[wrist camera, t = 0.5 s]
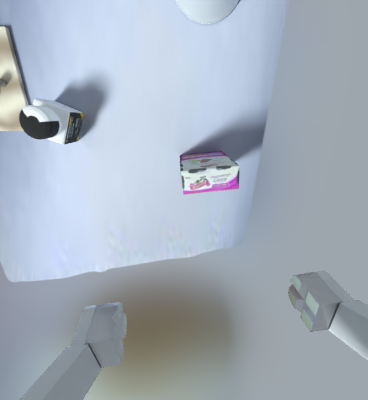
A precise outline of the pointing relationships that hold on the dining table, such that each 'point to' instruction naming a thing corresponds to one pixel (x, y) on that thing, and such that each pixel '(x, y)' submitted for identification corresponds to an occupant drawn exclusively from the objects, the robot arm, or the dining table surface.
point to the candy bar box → (208, 172)
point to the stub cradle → (10, 85)
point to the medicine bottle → (51, 121)
